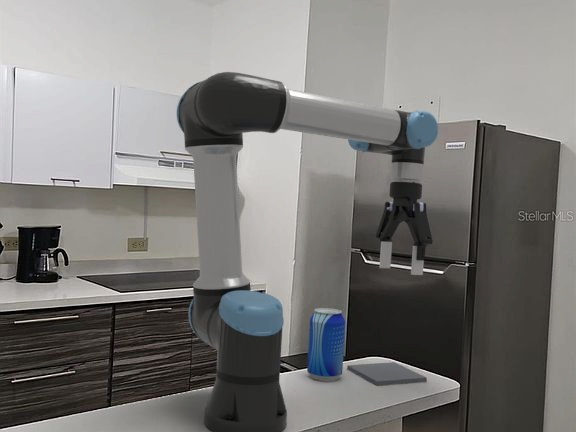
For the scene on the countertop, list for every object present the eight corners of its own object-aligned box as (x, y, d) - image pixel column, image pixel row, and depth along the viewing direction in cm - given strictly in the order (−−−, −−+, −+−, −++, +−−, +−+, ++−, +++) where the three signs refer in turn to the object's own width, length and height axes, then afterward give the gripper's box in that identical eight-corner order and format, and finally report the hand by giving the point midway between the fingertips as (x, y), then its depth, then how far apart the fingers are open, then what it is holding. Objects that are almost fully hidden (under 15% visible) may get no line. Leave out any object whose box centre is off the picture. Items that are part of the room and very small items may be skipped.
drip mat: (376, 385, 136) (377, 381, 136) (347, 369, 148) (347, 365, 148) (426, 381, 141) (426, 377, 141) (393, 366, 154) (394, 362, 154)
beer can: (329, 384, 134) (333, 315, 134) (299, 376, 139) (303, 309, 139) (348, 377, 141) (352, 311, 141) (319, 370, 146) (323, 306, 146)
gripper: (452, 182, 129) (446, 278, 129) (391, 184, 152) (385, 265, 152) (424, 179, 126) (417, 277, 126) (366, 181, 149) (360, 265, 150)
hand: (400, 271), depth 139 cm, fingers open, 13 cm apart
